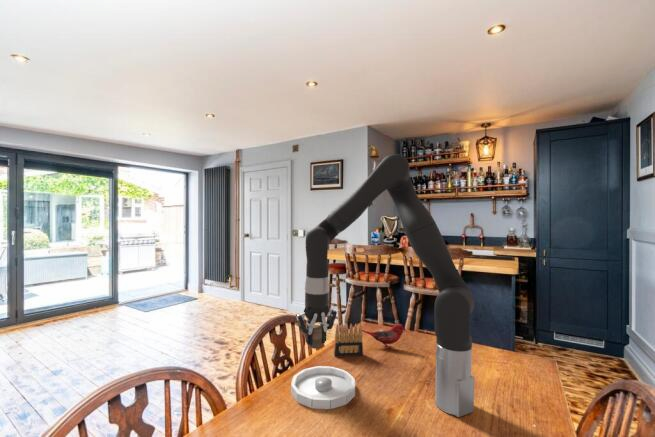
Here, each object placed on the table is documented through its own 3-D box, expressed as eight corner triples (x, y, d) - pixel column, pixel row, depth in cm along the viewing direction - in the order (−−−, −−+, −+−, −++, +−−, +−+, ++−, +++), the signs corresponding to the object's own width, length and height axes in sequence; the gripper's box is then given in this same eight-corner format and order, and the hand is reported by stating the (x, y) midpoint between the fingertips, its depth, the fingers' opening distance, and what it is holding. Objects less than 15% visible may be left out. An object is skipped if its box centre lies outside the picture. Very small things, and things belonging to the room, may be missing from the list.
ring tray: (367, 398, 93) (367, 389, 93) (306, 416, 84) (307, 406, 84) (335, 369, 110) (335, 361, 110) (283, 381, 101) (283, 374, 101)
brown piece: (324, 347, 101) (324, 328, 101) (312, 349, 99) (313, 330, 99) (318, 342, 105) (319, 324, 105) (307, 344, 103) (307, 326, 103)
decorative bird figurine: (405, 351, 125) (406, 325, 125) (360, 346, 128) (360, 321, 128) (405, 348, 128) (406, 323, 128) (361, 343, 131) (361, 319, 131)
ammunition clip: (361, 353, 122) (362, 322, 122) (362, 355, 121) (363, 324, 120) (334, 354, 121) (334, 323, 121) (334, 356, 119) (335, 324, 119)
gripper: (300, 295, 95) (299, 352, 95) (342, 290, 101) (341, 344, 102) (291, 289, 102) (290, 343, 102) (331, 285, 108) (330, 336, 109)
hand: (316, 343), depth 102 cm, fingers closed on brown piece, 4 cm apart
